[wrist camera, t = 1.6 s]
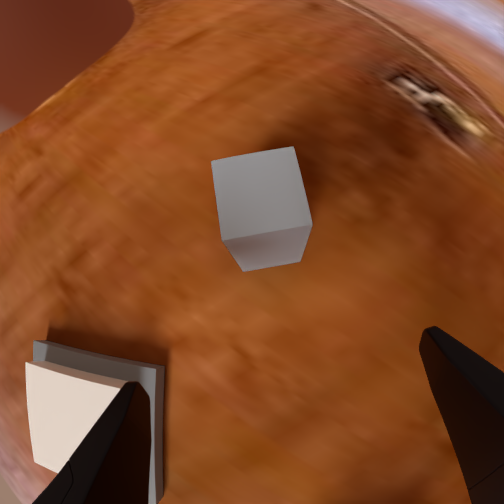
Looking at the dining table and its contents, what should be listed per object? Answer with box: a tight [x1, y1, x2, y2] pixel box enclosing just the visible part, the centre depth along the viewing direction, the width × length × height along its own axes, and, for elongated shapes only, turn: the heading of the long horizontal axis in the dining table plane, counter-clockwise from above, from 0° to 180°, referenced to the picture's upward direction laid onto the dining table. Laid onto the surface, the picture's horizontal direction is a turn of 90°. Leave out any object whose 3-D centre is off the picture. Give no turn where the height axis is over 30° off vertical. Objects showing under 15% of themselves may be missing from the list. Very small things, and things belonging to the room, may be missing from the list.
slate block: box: [211, 146, 313, 272], centre depth 19 cm, size 4×4×9 cm
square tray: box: [33, 340, 165, 504], centre depth 21 cm, size 12×12×2 cm
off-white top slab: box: [26, 361, 128, 473], centre depth 19 cm, size 9×9×2 cm
